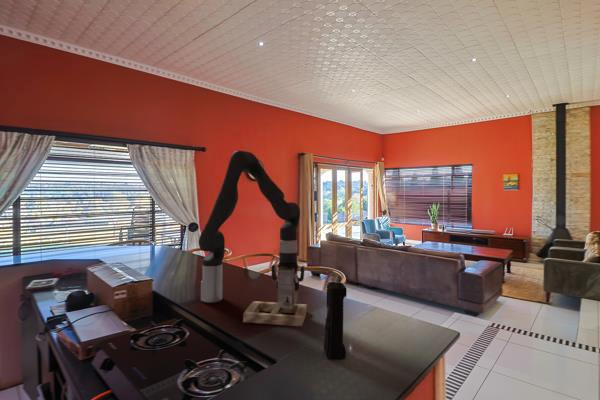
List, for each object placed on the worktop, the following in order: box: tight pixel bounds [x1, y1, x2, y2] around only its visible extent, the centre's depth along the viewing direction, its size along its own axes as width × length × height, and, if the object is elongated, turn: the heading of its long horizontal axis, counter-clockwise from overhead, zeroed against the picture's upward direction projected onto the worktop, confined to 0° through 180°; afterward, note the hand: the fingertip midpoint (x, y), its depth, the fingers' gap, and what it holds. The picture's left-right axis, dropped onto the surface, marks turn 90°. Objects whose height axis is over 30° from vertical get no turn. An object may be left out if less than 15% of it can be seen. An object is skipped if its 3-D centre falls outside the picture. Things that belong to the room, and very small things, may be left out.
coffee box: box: [277, 266, 298, 308], centre depth 127 cm, size 9×6×16 cm
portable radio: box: [323, 279, 347, 360], centre depth 99 cm, size 8×6×25 cm
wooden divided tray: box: [242, 300, 308, 327], centre depth 128 cm, size 24×14×4 cm, turn 82°
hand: (287, 290), depth 127 cm, fingers closed on coffee box, 6 cm apart
